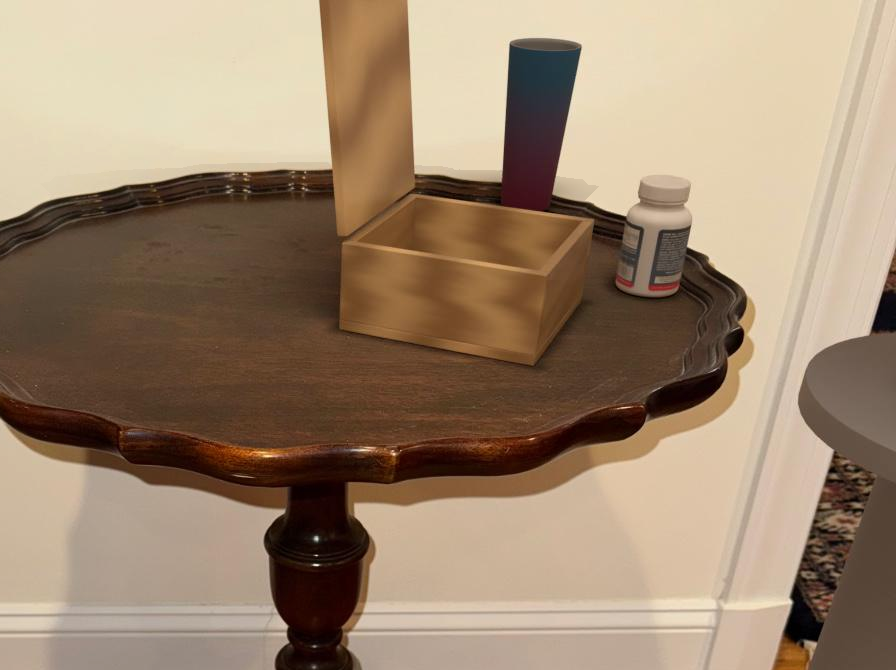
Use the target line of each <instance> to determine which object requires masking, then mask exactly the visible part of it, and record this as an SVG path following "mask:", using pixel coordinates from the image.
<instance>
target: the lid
mask: <svg viewBox="0 0 896 670" xmlns="http://www.w3.org/2000/svg"><path fill="white" fill-rule="evenodd" d="M318 6H319V17H320V31H321V43H322V44H321V45H322V54H323V55H322V56H323V68H324V80H325V93H326V106H327V107H326V108H327V119H328V131H329V133H328V134H329V145H330V157H331V170H332V172H331V173H332V182H333V197H334V209H335V222H336V233H337V237H348V236H349V235H351V234H352V233H353V232H355V231H357V230H358V229H360V228H361V227H362V226H363V225H365V224H366V223H368V222H370V220H372V219H373V218H374V217H376V216H377V215H379V214H380V213H381V212H383V211H384V210H386V209H387V208H389V207H390V206H391V205H394V203H396V202H398V200H400V199H401V198H402V197H404V196H405V195H407V194H408V193H410V192H411V191H413V190H414V189H415V188H416V177H415V176H416V174H415V152H414V151H415V150H414V149H415V148H414V126H413V101H412V75H411V53H410V52H411V51H410V50H411V49H410V28H409V1H408V0H318Z"/></svg>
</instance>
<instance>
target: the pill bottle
mask: <svg viewBox="0 0 896 670" xmlns="http://www.w3.org/2000/svg"><path fill="white" fill-rule="evenodd" d="M638 185H639V186H638V190H637V196H638V199H639V202H637V203H635V204H633V205H632V206H631V207H630V208H629V209H628V211H627V213H626V217H625V223H624V229H623V235H622V240H621V246H620V252H619V258H618V263H617V269H616V273H615V275H616V276H615V286H616V287H617V288H618V289H619V290H620V291H621V292H624V293H626V294H629V295H633V296H637V297H642V298H665V297H668V296H672V295H673V294H675V293H676V292H678V289H679V287H680V283H681V279H682V273H683V269H684V264H685V259H686V254H687V249H688V244H689V239H690V234H691V229H692V226H693V214H692V212H691V211H690V210H689V208H687V206H685V204H686V203H687V202H688V201H689V197H690V192H691V186H692V183H691V181H690V180H688V179H686V178H684V177H680V176H676V175H671V174H670V175H669V174H650V175H645V176H642V177H641V178H640V181H639V184H638Z"/></svg>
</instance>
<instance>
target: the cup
mask: <svg viewBox="0 0 896 670" xmlns="http://www.w3.org/2000/svg"><path fill="white" fill-rule="evenodd" d="M582 48H583V45H582V44H581V43H580V42H576V41H573V40H567V39H563V38H561V39H560V38H551V37H526V38H517V39H513V40H511V41H509V47H508V60H507V61H508V62H507V63H508V65H507V81H506V97H505V99H506V100H505V118H504V136H503V153H502V169H501V171H502V172H501V190H500V204H501V205H500V206H504V207H511V208H518V209H525V210H532V211H539V212H543V211H545V210H549V208H550V207H551V202H552V198H553V192H554V188H555V183H556V178H557V173H558V167H559V163H560V157H561V152H562V148H563V143H564V139H565V134H566V129H567V123H568V118H569V113H570V109H571V104H572V97H573V92H574V89H575V84H576V78H577V73H578V68H579V65H580V64H579V63H580V60H581V59H580V58H581V53H582Z"/></svg>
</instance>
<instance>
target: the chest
mask: <svg viewBox="0 0 896 670" xmlns="http://www.w3.org/2000/svg"><path fill="white" fill-rule="evenodd" d="M594 224H595V219H594V218H588V217H581V216H574V215H568V214H567V215H566V214H561V213H553V212H546V211H532V210H525V209H518V208H511V207H504V206H502V205H497V204H488V203H483V202H475V201H467V200H460V199H453V198H447V197H439V196H431V195H426V194H425V195H424V194H417V193H409V194H408V195H407V196H405V197H404V198H403V199H401V200H400V201H397V203H396V204H393V206H392V207H390V208H388V209H387V210H386V211H384V212H383V213H382V214H380V215H379V216H377V217H376V218H375V219H373V220H372V221H370V222H369V223H368V224H366V225H365V226H364V227H362V228H361V229H360V230H358V231H357V232H356V233H354V234H353V235H352V236H350V237H348V238H347V239H346V240H343V242H342V243H341V264H340V265H341V266H340V293H339V294H340V296H339V321H338V329H339V330H340V331H346V332H350V333H357V334H362V335H368V336H372V337H376V338H383V339H388V340H392V341H393V340H394V341H398V342H403V343H409V344H415V345H421V346H425V347H430V348H435V349H441V350H446V351H451V352H456V353H462V354H467V355H473V356H478V357H482V358H488V359H493V360H499V361H505V362H509V363H514V364H519V365H520V364H521V365H525V366H531V367H534V366H535V365H536V364H537V362H538V361H539V360H540V358H541V357H542V355H543V354H544V352H545V351H546V350H547V349H548V348H549V346H550V345H551V343H552V342H553V340H554V339H555V338H556V336H557V335H558V334H559V332H560V331H561V330H562V328H563V327H564V325H565V324H566V323H567V322H568V320H569V319H570V318H571V316H572V315H573V313H574V312H575V310H576V309H577V308H578V306H579V305H581V302H582V299H583V293H584V287H585V281H586V273H587V268H588V261H589V256H590V251H591V250H590V249H591V243H592V237H593V231H594V227H595V226H594Z"/></svg>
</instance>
